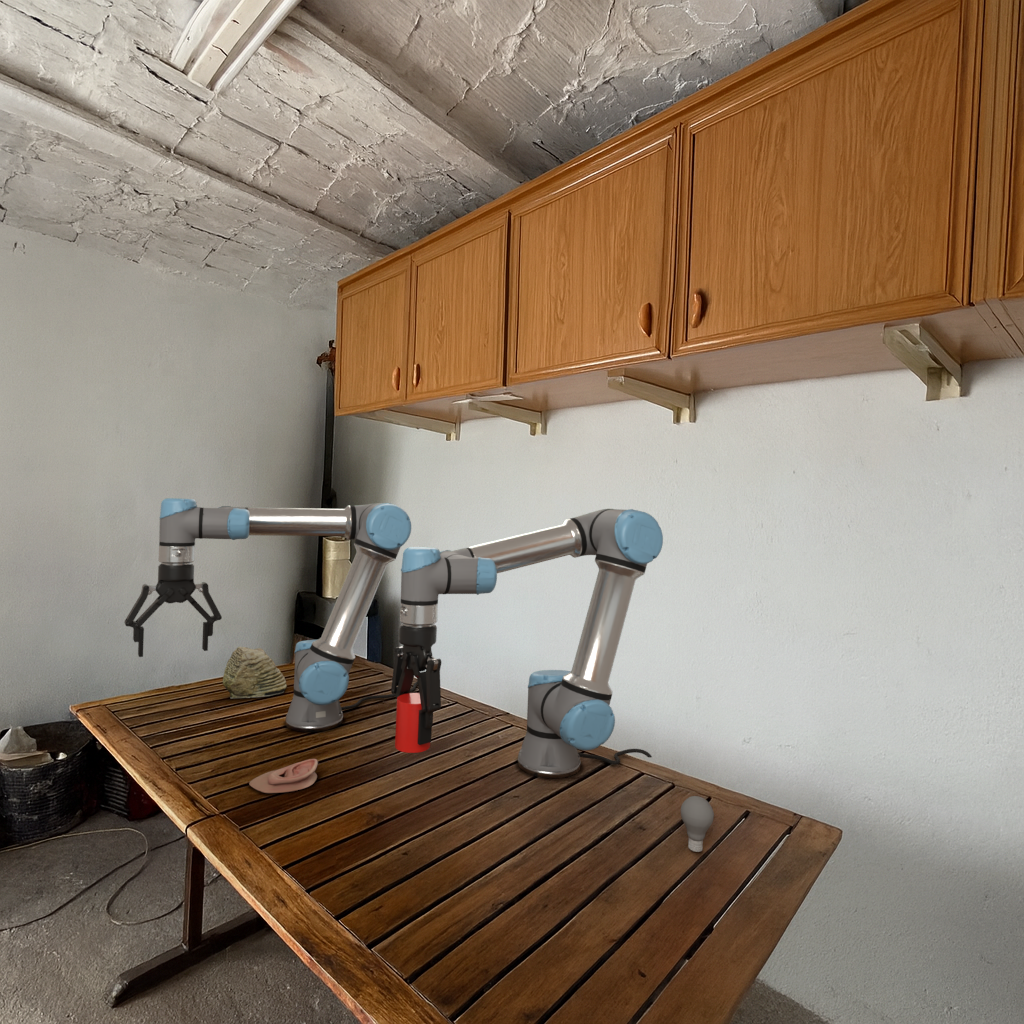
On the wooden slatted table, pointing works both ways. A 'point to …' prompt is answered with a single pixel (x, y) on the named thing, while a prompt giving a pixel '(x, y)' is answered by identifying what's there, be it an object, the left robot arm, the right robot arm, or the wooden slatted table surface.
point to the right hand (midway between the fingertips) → (413, 736)
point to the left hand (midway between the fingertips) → (173, 652)
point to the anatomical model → (287, 778)
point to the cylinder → (408, 724)
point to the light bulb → (696, 820)
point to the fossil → (252, 674)
